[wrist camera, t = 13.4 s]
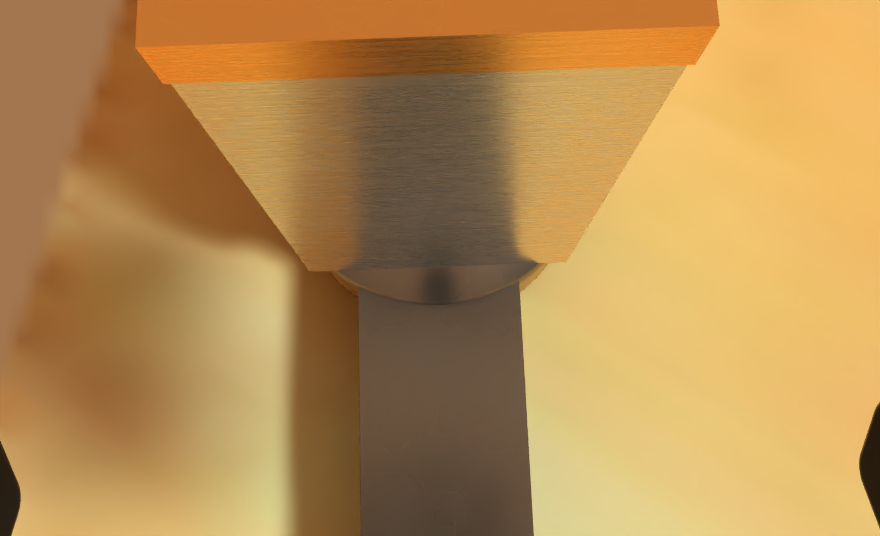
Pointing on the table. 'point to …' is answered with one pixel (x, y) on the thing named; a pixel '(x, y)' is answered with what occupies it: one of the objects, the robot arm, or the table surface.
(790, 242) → the table surface
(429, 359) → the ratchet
